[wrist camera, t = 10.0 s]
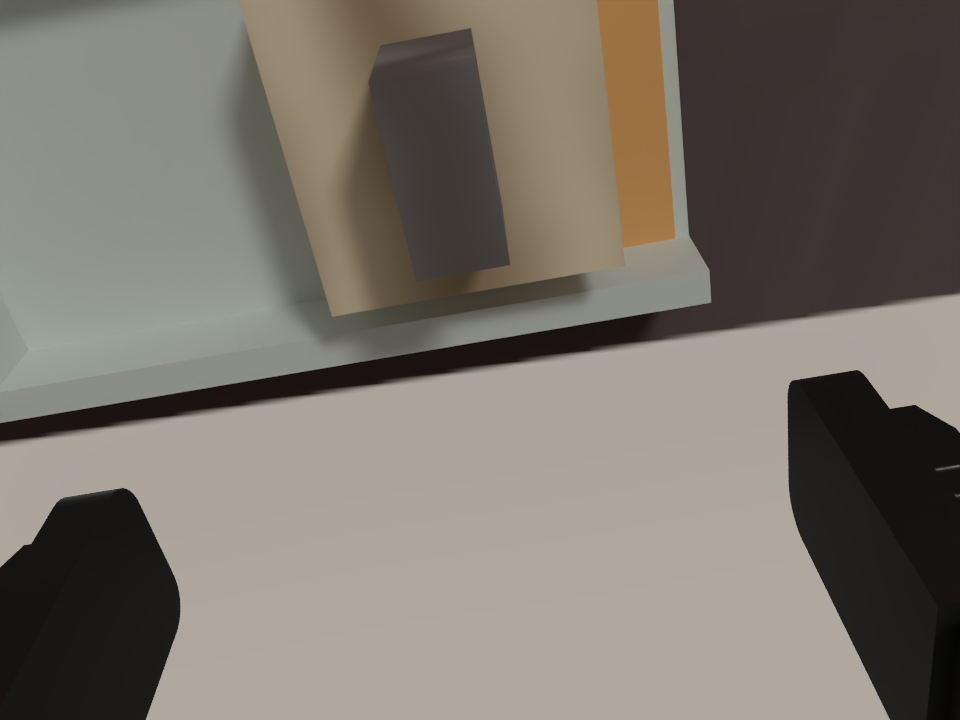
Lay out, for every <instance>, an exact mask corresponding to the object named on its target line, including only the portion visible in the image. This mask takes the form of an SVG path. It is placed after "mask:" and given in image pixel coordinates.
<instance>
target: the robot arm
mask: <svg viewBox="0 0 960 720" xmlns="http://www.w3.org/2000/svg"><path fill="white" fill-rule="evenodd" d="M788 456H789V457H788V460H789V461H788V462H789V493H790V500H791V505H792V510H793V514H794V518H795V521H796V525H797V528H798V531H799V533H800V536H801V538H802V540H803V542H804V544H805V546H806V548H807V550H808V553H809V555H810V556H811V559H812V561H813V563H814V565H815V567H816V569H817V571H818V573H819V575H820V577H821V579H822V581H823V583H824V585H825V587H826V589H827V591H828V593H829V596H830V598H831V600H832V602H833V604H834V606H835V608H836V610H837V612H838V614H839V616H840V618H841V620H842V622H843V624H844V626H845V628H846V630H847V632H848V634H849V636H850V638H851V641H852V643H853V645H854V646H855V649H856V651H857V653H858V655H859V657H860V659H861V661H862V663H863V665H864V667H865V669H866V671H867V673H868V675H869V677H870V680H871V681H872V684H873V685H874V687H875V690H876V692H877V694H878V696H879V698H880V700H881V702H882V704H883V706H884V708H885V710H886V712H887V714H888V716H889V718H890V720H960V433H959V432H958V430H957V429H956V428H954V427H953V426H951V425H949V424H947V423H946V422H944V421H942V420H940V419H939V418H937V417H935V416H933V415H931V414H930V413H928V412H926V411H924V410H923V409H921V408H919V407H917V406H916V405H912V406H906V407H899V408H893V409H889V408H888V406H887V405H886V403H885V402H884V401H883V400H882V398H881V397H880V395H879V394H878V393H877V391H876V390H875V389H874V387H873V386H872V385H871V383H870V382H869V381H868V379H867V378H866V377H865V376H864V374H862V373H861V372H860V371H858V370H855V371H849V372H843V373H837V374H831V375H825V376H818V377H812V378H806V379H800V380H794V381H792V382H791V383H790V385H789V389H788ZM179 618H180V597H179V591H178V586H177V583H176V580H175V577H174V575H173V573H172V571H171V568H170V566H169V564H168V562H167V560H166V558H165V556H164V554H163V552H162V550H161V548H160V546H159V544H158V542H157V539H156V537H155V535H154V533H153V531H152V529H151V527H150V525H149V523H148V521H147V518H146V516H145V514H144V512H143V510H142V508H141V506H140V504H139V502H138V500H137V498H136V497H135V496H134V494H133V493H131V492H130V491H129V490H127V489H124V488H122V489H114V490H109V491H102V492H96V493H90V494H85V495H78V496H72V497H66V498H63V499H61V500H59V501H58V502H57V503H56V505H55V506H54V507H53V509H52V511H51V512H50V514H49V516H48V518H47V519H46V521H45V523H44V524H43V526H42V527H41V529H40V531H39V532H38V534H37V536H36V537H35V539H34V541H33V542H32V544H29V545H24V546H23V547H22V548H21V549H20V550H19V551H17V552H16V553H15V554H14V555H13V556H12V557H11V558H10V559H9V560H8V561H7V562H6V563H5V564H4V565H2V566H1V567H0V720H146V717H147V714H148V711H149V709H150V706H151V703H152V700H153V697H154V694H155V692H156V689H157V686H158V683H159V680H160V678H161V675H162V672H163V669H164V666H165V663H166V660H167V658H168V655H169V652H170V649H171V646H172V643H173V641H174V638H175V635H176V632H177V629H178V625H179Z"/></svg>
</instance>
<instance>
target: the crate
mask: <svg viewBox="0 0 960 720" xmlns="http://www.w3.org/2000/svg"><path fill="white" fill-rule="evenodd" d="M238 2H239V5H240V8H241V12H242V15H243V19H244V22H245V25H246V29H247V32H248V35H249V39H250V42H251V46H252V49H253V52H254V56H255V59H256V62H257V66H258V69H259V72H260V76H261V79H262V83H263V86H264V89H265V93H266V96H267V99H268V103H269V106H270V110H271V113H272V116H273V120H274V123H275V126H276V130H277V133H278V136H279V140H280V143H281V147H282V150H283V153H284V157H285V160H286V163H287V167H288V170H289V174H290V177H291V180H292V184H293V187H294V190H295V194H296V197H297V200H298V204H299V207H300V211H301V214H302V217H303V221H304V224H305V227H306V231H307V234H308V238H309V241H310V244H311V248H312V251H313V254H314V258H315V261H316V264H317V268H318V271H319V275H320V278H321V281H322V285H323V288H324V291H325V295H326V298H327V302H328V305H329V308H330V312H331V315H332V317H333V316H339V315H345V314H350V313H356V312H362V311H368V310H373V309H379V308H385V307H391V306H396V305H402V304H408V303H414V302H420V301H425V300H431V299H437V298H443V297H448V296H454V295H460V294H466V293H472V292H477V291H483V290H489V289H495V288H500V287H506V286H512V285H518V284H523V283H529V282H535V281H541V280H547V279H552V278H558V277H564V276H570V275H575V274H581V273H587V272H593V271H598V270H604V269H610V268H616V267H622V266H625V260H624V251H623V241H622V232H621V223H620V213H619V204H618V194H617V185H616V176H615V166H614V157H613V147H612V138H611V129H610V119H609V110H608V100H607V91H606V82H605V72H604V63H603V53H602V44H601V35H600V25H599V16H598V6H597V0H238Z"/></svg>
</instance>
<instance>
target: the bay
mask: <svg viewBox="0 0 960 720" xmlns="http://www.w3.org/2000/svg"><path fill="white" fill-rule="evenodd" d="M597 6H598V16H599V25H600V35H601V44H602V53H603V63H604V72H605V82H606V91H607V100H608V110H609V119H610V129H611V138H612V147H613V157H614V166H615V176H616V185H617V194H618V204H619V213H620V223H621V232H622V241H623V251H624V260H625V266H622V267H616V268H610V269H604V270H598V271H593V272H587V273H581V274H575V275H570V276H564V277H558V278H552V279H547V280H541V281H535V282H529V283H523V284H518V285H512V286H506V287H500V288H495V289H489V290H483V291H477V292H472V293H466V294H460V295H454V296H448V297H443V298H437V299H431V300H425V301H420V302H414V303H408V304H402V305H396V306H391V307H385V308H379V309H373V310H368V311H362V312H356V313H350V314H345V315H339V316H333V317H332V315H331V312H330V308H329V305H328V302H327V298H326V295H325V291H324V288H323V285H322V281H321V278H320V275H319V271H318V268H317V264H316V261H315V258H314V254H313V251H312V248H311V244H310V241H309V238H308V234H307V231H306V227H305V224H304V221H303V217H302V214H301V211H300V207H299V204H298V200H297V197H296V194H295V190H294V187H293V184H292V180H291V177H290V174H289V170H288V167H287V163H286V160H285V157H284V153H283V150H282V147H281V143H280V140H279V136H278V133H277V130H276V126H275V123H274V120H273V116H272V113H271V110H270V106H269V103H268V99H267V96H266V93H265V89H264V86H263V83H262V79H261V76H260V72H259V69H258V66H257V62H256V59H255V56H254V52H253V49H252V46H251V42H250V39H249V35H248V32H247V29H246V25H245V22H244V19H243V15H242V12H241V8H240V5H239V2H238V0H0V423H3V422H9V421H15V420H21V419H27V418H33V417H39V416H45V415H50V414H56V413H62V412H68V411H74V410H80V409H86V408H92V407H98V406H104V405H109V404H115V403H121V402H127V401H133V400H139V399H145V398H151V397H157V396H163V395H168V394H174V393H180V392H186V391H192V390H198V389H204V388H210V387H216V386H222V385H228V384H233V383H239V382H245V381H251V380H257V379H263V378H269V377H275V376H281V375H287V374H292V373H298V372H304V371H310V370H316V369H322V368H328V367H334V366H340V365H346V364H351V363H357V362H363V361H369V360H375V359H381V358H387V357H393V356H399V355H405V354H410V353H416V352H422V351H428V350H434V349H440V348H446V347H452V346H458V345H464V344H469V343H475V342H481V341H487V340H493V339H499V338H505V337H511V336H517V335H523V334H528V333H534V332H540V331H546V330H552V329H558V328H564V327H570V326H576V325H582V324H588V323H593V322H599V321H605V320H611V319H617V318H623V317H629V316H635V315H641V314H647V313H652V312H658V311H664V310H670V309H676V308H682V307H688V306H694V305H700V304H706V303H711V291H710V273H709V269H708V267H707V266H706V264H705V262H704V260H703V259H702V257H701V255H700V254H699V252H698V250H697V248H696V247H695V245H694V243H693V242H692V240H691V238H690V237H689V231H688V216H687V201H686V186H685V171H684V156H683V140H682V125H681V110H680V95H679V80H678V64H677V49H676V34H675V19H674V4H673V0H597Z"/></svg>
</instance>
